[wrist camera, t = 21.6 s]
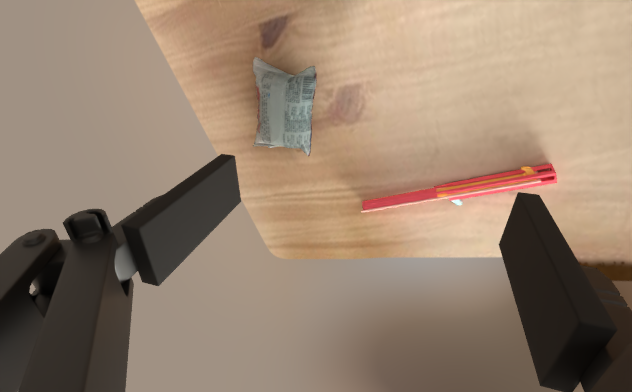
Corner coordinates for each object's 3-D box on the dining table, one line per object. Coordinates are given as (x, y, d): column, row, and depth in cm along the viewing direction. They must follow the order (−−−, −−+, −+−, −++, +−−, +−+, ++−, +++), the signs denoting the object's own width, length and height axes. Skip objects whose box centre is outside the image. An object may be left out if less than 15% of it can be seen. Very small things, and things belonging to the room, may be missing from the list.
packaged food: (260, 139, 49) (245, 151, 45) (260, 54, 42) (243, 60, 38) (315, 150, 47) (305, 163, 43) (323, 64, 41) (312, 70, 37)
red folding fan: (551, 182, 40) (552, 154, 37) (557, 194, 39) (558, 167, 36) (368, 213, 50) (358, 193, 48) (367, 223, 49) (357, 204, 46)
